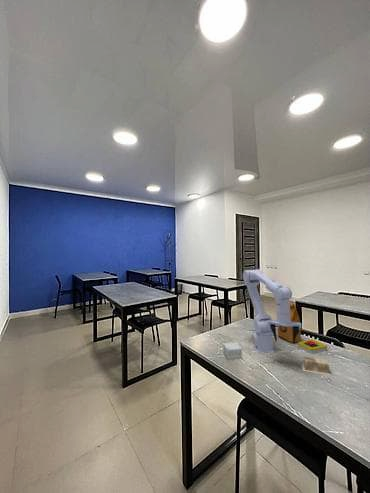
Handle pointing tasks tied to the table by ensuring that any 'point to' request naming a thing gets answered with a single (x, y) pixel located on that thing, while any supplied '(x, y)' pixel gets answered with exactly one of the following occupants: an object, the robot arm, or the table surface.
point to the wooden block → (316, 365)
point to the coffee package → (288, 331)
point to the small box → (232, 350)
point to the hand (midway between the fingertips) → (284, 341)
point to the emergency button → (312, 346)
